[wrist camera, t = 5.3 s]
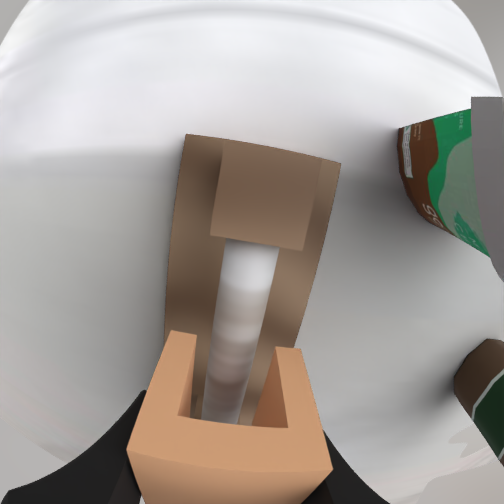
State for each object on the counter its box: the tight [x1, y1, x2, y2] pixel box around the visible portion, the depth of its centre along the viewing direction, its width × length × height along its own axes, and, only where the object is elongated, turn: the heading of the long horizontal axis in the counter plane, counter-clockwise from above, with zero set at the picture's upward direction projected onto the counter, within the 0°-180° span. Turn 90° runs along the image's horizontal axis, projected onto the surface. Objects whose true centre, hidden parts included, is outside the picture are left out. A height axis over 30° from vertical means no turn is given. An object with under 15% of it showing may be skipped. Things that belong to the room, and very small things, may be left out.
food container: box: [397, 97, 504, 282], centre depth 10 cm, size 12×6×10 cm, turn 77°
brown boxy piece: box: [164, 134, 341, 426], centre depth 14 cm, size 20×8×6 cm, turn 170°
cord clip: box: [126, 330, 333, 504], centre depth 8 cm, size 5×5×6 cm
